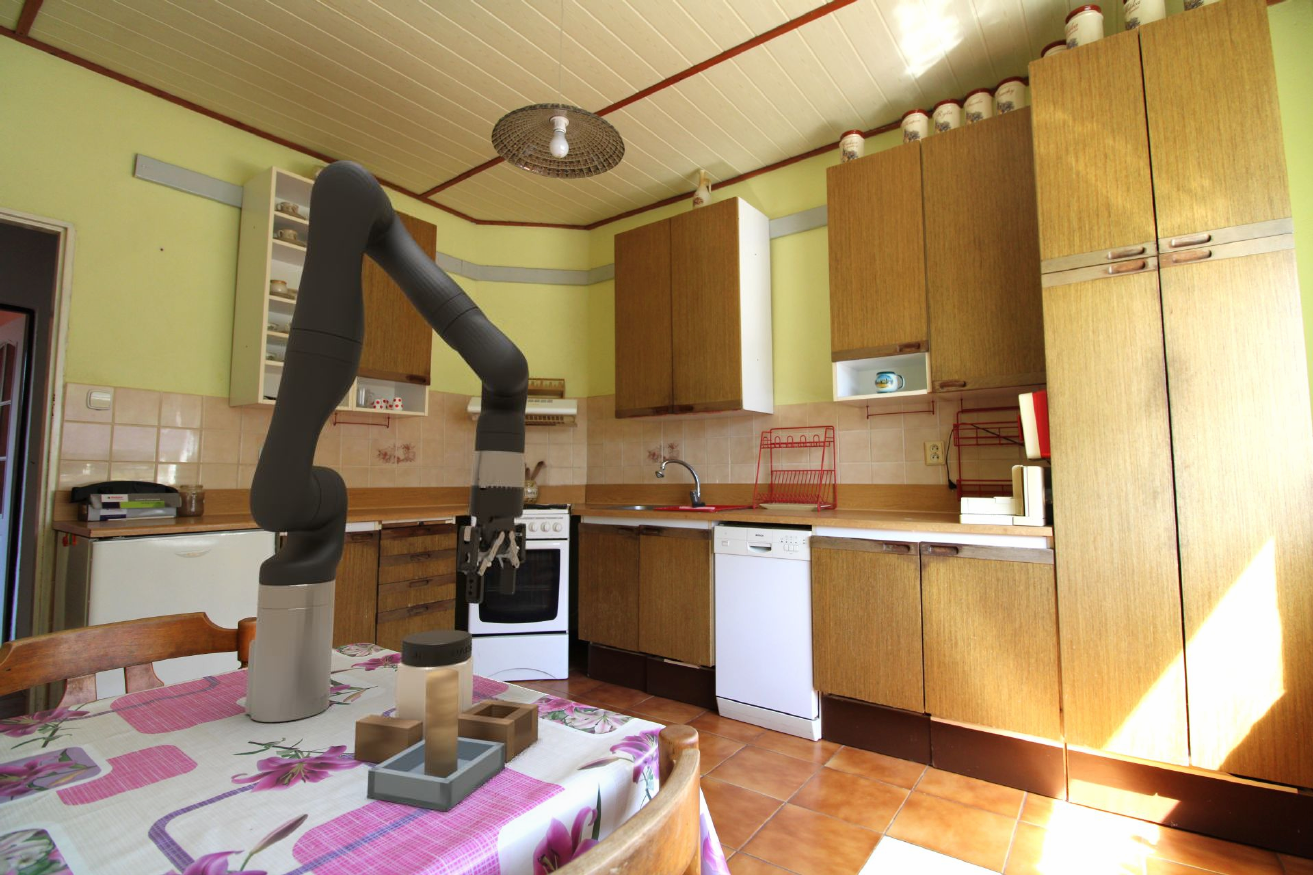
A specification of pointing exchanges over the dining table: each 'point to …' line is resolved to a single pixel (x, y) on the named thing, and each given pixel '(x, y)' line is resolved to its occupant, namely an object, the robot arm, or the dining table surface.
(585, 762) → the dining table surface
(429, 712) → the dowel
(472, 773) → the tray
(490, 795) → the dining table surface
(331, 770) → the dining table surface
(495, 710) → the socket block
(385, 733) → the block
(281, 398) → the robot arm
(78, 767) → the dining table surface
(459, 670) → the jar
